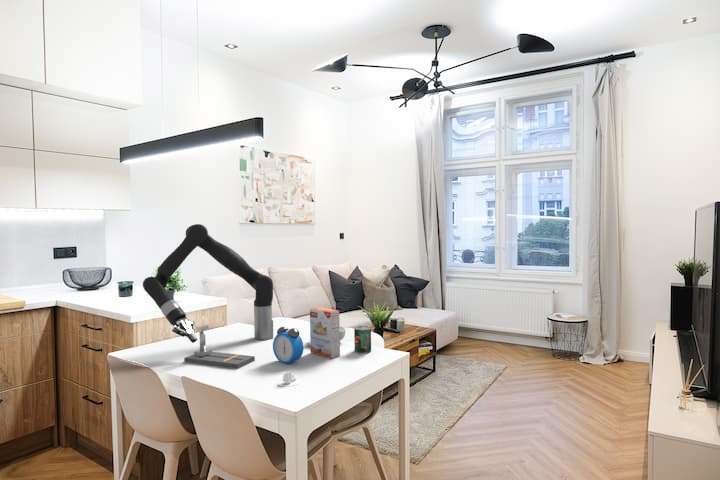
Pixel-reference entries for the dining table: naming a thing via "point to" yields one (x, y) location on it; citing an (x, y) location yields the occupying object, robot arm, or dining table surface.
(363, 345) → the canned tomato
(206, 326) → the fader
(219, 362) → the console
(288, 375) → the teacup and saucer
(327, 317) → the cracker box
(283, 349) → the alarm clock
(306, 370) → the dining table surface
